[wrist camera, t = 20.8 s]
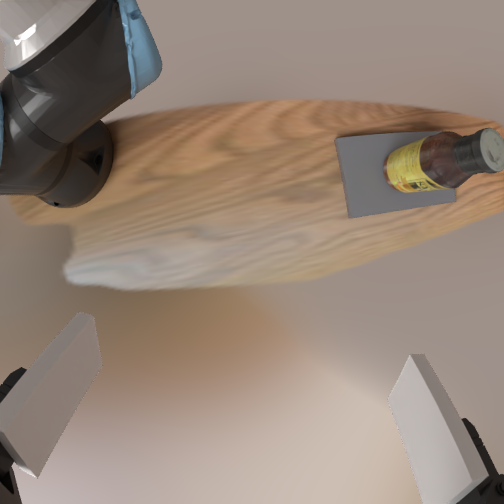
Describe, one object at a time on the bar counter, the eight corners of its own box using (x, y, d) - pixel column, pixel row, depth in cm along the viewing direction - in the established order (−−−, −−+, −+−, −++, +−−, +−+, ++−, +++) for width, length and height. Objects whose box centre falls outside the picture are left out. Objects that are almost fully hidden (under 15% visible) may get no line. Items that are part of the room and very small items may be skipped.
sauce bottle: (386, 196, 40) (475, 191, 20) (376, 152, 39) (457, 116, 19) (424, 189, 40) (519, 182, 20) (414, 147, 39) (504, 115, 19)
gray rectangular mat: (348, 217, 42) (351, 218, 40) (334, 140, 40) (336, 138, 39) (451, 201, 41) (456, 201, 40) (438, 132, 40) (443, 130, 38)
